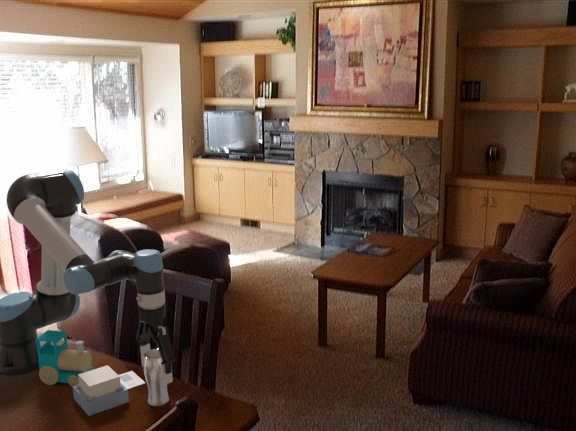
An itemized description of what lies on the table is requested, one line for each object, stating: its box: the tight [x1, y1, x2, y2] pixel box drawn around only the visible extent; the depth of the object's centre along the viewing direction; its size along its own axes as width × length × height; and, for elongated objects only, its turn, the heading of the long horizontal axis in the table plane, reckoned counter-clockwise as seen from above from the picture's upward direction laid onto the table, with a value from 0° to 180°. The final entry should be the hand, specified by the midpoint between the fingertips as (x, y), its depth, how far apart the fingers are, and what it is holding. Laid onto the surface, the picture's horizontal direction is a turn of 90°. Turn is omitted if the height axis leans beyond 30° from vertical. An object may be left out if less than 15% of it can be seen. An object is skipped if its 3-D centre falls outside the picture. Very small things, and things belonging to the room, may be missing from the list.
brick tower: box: [72, 365, 130, 417], centre depth 181 cm, size 12×12×8 cm
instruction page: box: [118, 370, 146, 390], centre depth 193 cm, size 10×7×1 cm
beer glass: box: [143, 348, 170, 407], centre depth 179 cm, size 7×7×15 cm
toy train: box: [36, 329, 95, 388], centre depth 192 cm, size 8×17×15 cm, turn 79°
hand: (156, 373), depth 179 cm, fingers open, 13 cm apart
